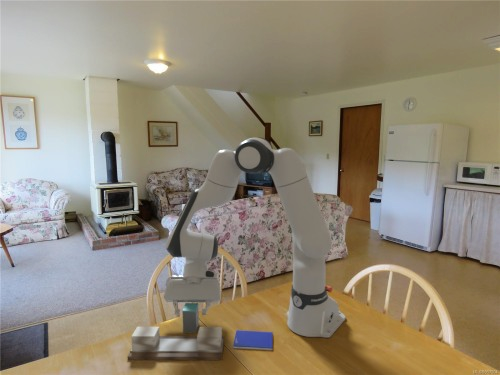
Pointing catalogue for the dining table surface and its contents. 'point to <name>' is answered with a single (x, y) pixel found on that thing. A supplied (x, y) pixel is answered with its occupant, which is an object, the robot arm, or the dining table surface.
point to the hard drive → (253, 340)
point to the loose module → (190, 317)
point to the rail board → (176, 345)
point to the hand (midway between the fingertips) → (190, 314)
